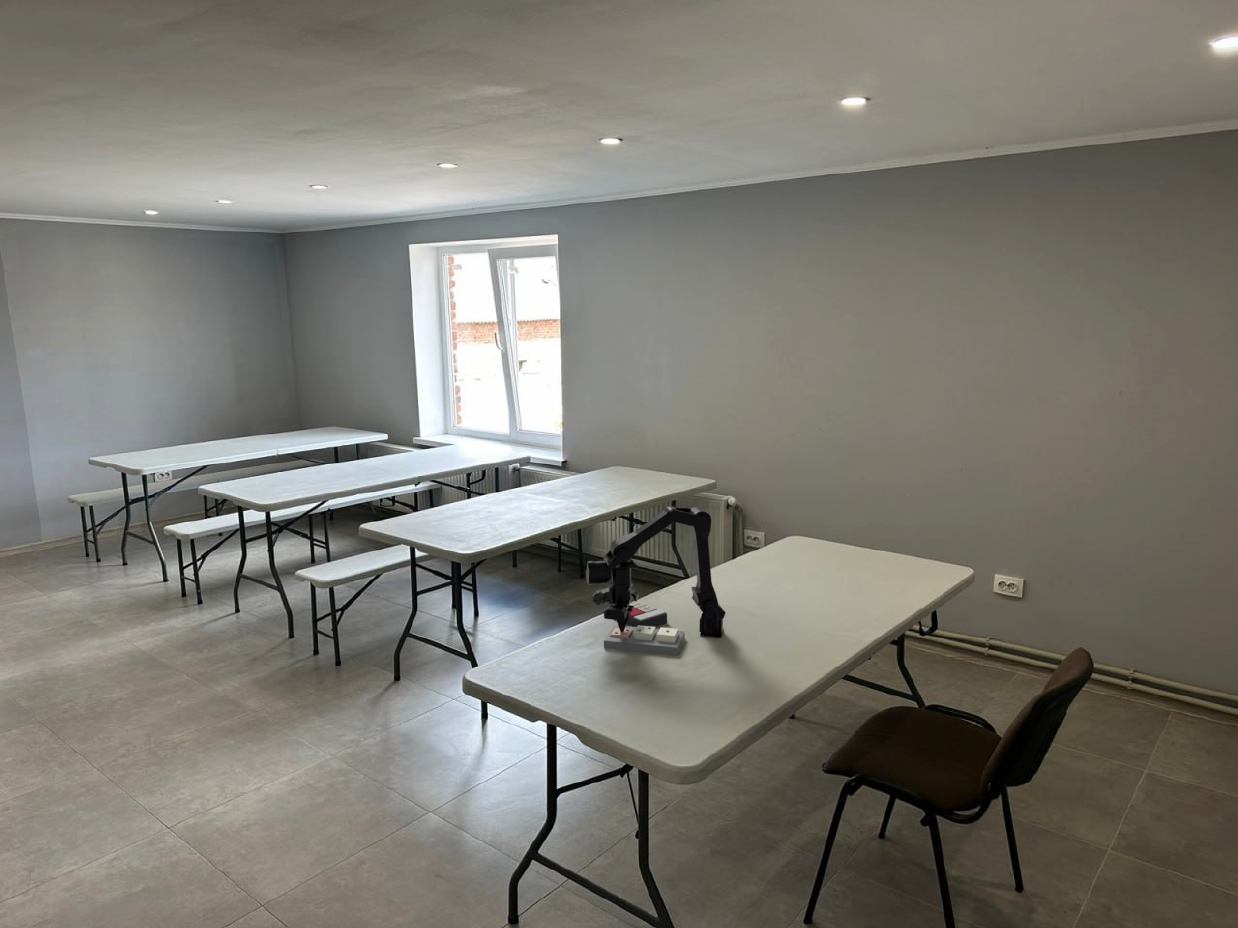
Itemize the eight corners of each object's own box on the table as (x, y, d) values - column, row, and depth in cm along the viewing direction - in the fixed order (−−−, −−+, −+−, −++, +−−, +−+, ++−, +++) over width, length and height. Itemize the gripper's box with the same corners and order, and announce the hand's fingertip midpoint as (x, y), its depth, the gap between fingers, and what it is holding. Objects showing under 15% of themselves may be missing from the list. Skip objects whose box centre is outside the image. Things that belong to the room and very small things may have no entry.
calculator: (638, 599, 267) (667, 610, 255) (639, 612, 267) (668, 623, 255) (611, 607, 260) (640, 618, 248) (612, 620, 261) (640, 632, 249)
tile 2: (655, 634, 241) (655, 626, 241) (651, 641, 236) (651, 633, 236) (638, 633, 243) (637, 624, 242) (633, 640, 238) (633, 631, 237)
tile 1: (678, 636, 240) (678, 628, 239) (674, 643, 235) (674, 635, 234) (660, 635, 241) (660, 626, 240) (656, 642, 236) (656, 633, 235)
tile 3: (632, 636, 243) (632, 628, 243) (628, 643, 238) (628, 635, 238) (615, 635, 245) (615, 626, 244) (611, 642, 240) (610, 633, 239)
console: (684, 638, 243) (684, 631, 242) (677, 655, 231) (677, 647, 231) (614, 632, 248) (614, 625, 248) (603, 647, 237) (603, 640, 237)
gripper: (603, 569, 249) (604, 617, 252) (586, 590, 231) (587, 640, 234) (638, 572, 246) (639, 620, 249) (623, 593, 228) (624, 644, 231)
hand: (622, 631), depth 241 cm, fingers closed, pressing on tile 3
